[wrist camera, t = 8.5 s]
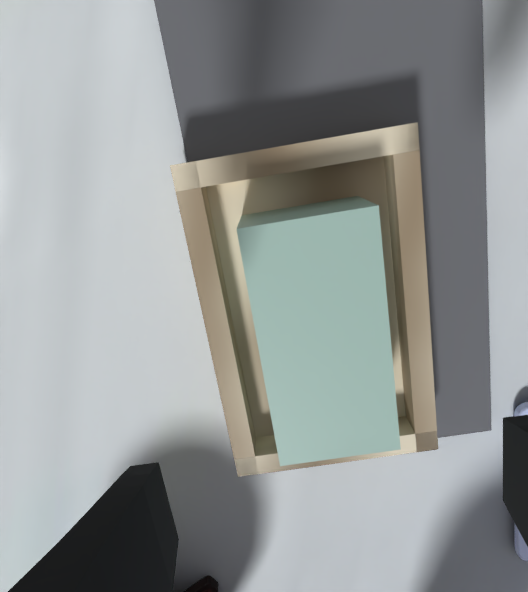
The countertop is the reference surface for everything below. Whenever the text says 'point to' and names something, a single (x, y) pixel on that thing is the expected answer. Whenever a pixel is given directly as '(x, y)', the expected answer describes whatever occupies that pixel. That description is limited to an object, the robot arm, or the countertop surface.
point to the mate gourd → (204, 585)
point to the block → (322, 328)
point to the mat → (360, 130)
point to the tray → (233, 289)
